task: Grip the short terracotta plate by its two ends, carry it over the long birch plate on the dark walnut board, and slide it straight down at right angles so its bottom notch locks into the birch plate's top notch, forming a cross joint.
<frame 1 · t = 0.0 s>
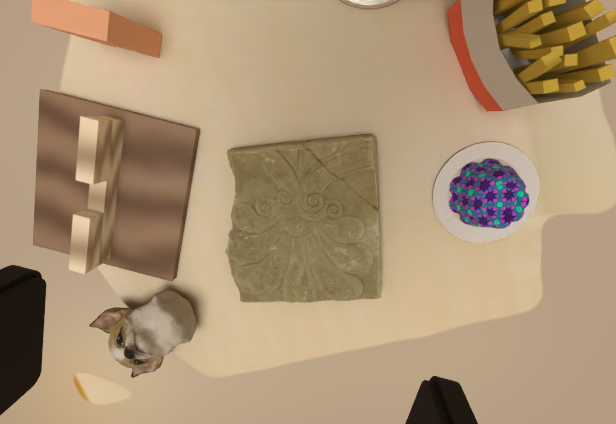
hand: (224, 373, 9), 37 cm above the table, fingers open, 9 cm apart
decorative tile: (302, 220, 47), on the table
pudding: (482, 192, 44), on the table
ceramic sculpture: (159, 318, 52), on the table
notched plate: (131, 39, 42), on the table
slotted stand: (115, 188, 47), on the table
french fries container: (476, 56, 40), on the table
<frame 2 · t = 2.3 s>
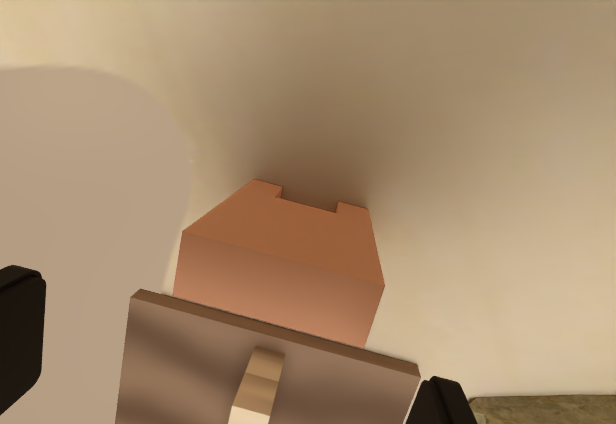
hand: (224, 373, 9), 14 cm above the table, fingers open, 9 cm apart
notched plate: (305, 213, 22), on the table
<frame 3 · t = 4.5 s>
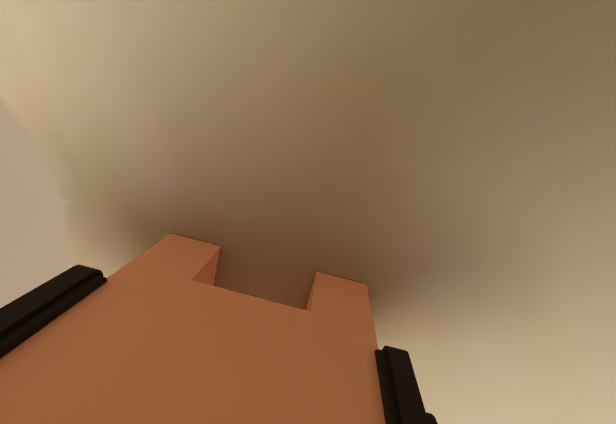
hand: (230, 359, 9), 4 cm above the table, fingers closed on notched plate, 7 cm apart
notched plate: (261, 290, 13), on the table, touching gripper
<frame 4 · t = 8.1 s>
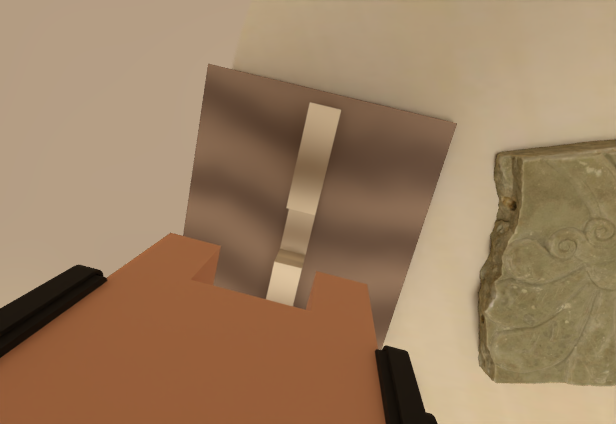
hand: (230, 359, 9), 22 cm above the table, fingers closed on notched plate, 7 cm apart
decorative tile: (587, 259, 31), on the table
notched plate: (261, 290, 13), point 18 cm above the table, touching gripper
slotted stand: (303, 214, 31), on the table
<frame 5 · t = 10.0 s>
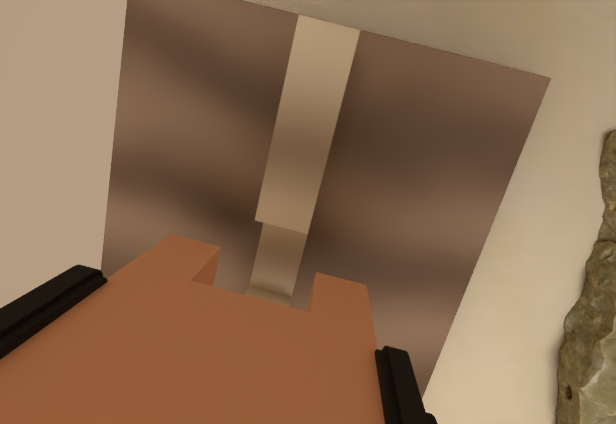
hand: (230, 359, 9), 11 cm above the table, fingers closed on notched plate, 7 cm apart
notched plate: (260, 291, 13), point 7 cm above the table, touching gripper
slotted stand: (290, 227, 20), on the table
when the fingers open (6 cm above the table, at t = 11.6 s): notched plate stays where it is, resting on slotted stand.
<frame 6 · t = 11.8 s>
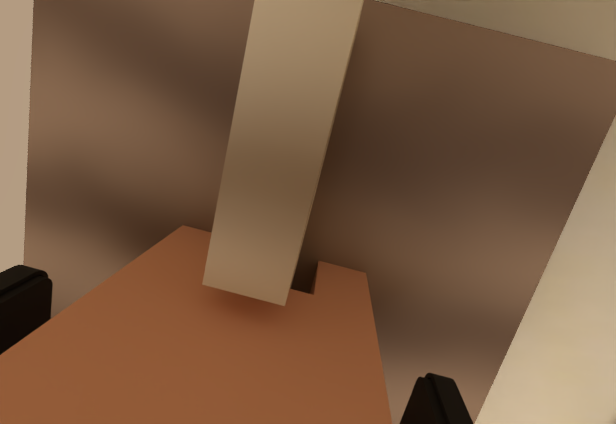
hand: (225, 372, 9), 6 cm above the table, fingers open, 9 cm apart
notched plate: (267, 278, 14), point 1 cm above the table, touching slotted stand
slotted stand: (271, 266, 15), on the table
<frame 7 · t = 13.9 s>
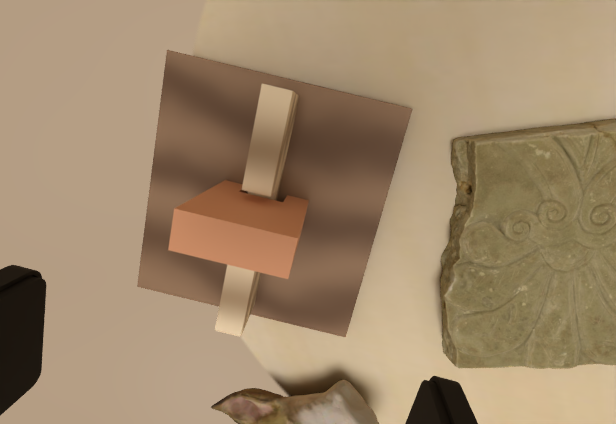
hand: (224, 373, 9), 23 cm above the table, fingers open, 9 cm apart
decorative tile: (544, 243, 32), on the table
ceramic sculpture: (304, 407, 37), on the table
notched plate: (263, 204, 30), point 1 cm above the table, touching slotted stand
slotted stand: (265, 201, 32), on the table
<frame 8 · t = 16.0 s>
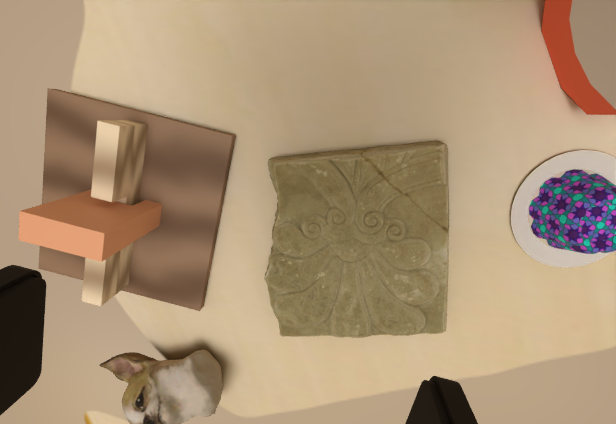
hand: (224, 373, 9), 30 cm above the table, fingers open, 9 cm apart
decorative tile: (352, 240, 40), on the table
pudding: (568, 208, 37), on the table
ceramic sculpture: (179, 370, 46), on the table
notched plate: (129, 206, 39), point 1 cm above the table, touching slotted stand
slotted stand: (134, 204, 40), on the table
french fries container: (571, 49, 34), on the table
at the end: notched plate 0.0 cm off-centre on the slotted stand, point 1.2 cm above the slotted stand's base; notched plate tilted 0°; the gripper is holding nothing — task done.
